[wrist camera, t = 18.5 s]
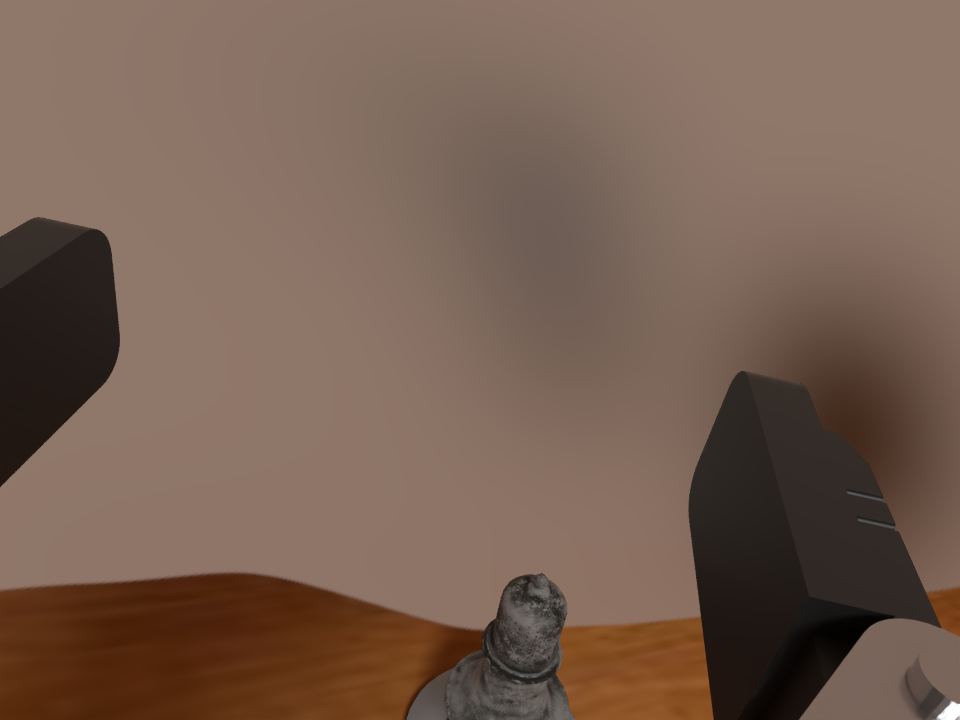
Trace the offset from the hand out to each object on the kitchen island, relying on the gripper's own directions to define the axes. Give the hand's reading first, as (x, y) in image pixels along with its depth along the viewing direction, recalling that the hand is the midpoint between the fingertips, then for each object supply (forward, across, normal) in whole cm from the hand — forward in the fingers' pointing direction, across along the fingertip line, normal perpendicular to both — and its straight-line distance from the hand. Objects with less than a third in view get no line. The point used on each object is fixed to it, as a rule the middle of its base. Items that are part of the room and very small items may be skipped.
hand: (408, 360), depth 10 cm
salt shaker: (+14, -5, +31) cm, 34 cm away
